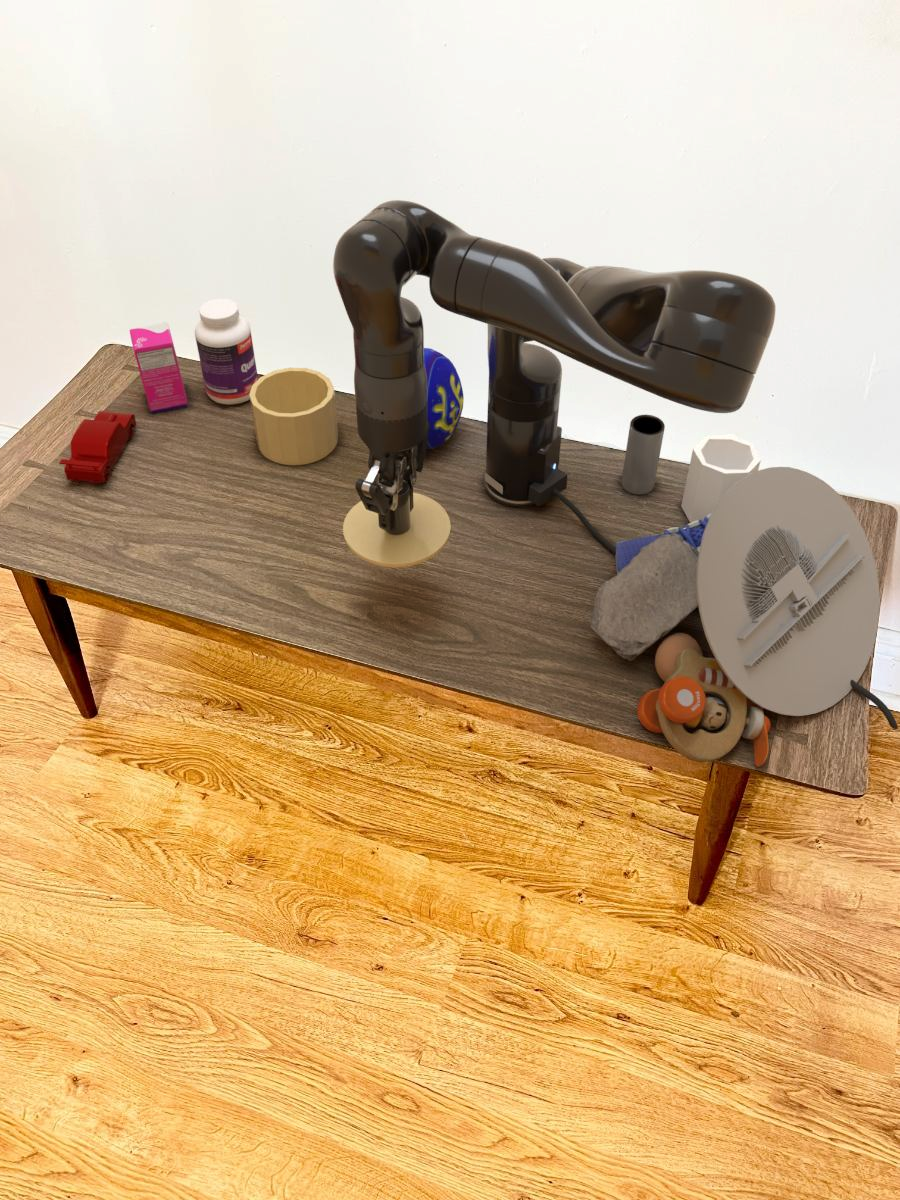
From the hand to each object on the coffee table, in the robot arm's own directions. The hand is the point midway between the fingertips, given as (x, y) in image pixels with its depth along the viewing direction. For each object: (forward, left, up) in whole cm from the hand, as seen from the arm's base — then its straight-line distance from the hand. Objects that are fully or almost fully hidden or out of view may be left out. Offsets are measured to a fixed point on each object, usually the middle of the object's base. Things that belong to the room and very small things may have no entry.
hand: (396, 518), depth 124 cm
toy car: (+51, -7, -13) cm, 53 cm away
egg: (-36, +1, -10) cm, 37 cm away
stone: (-25, -9, -6) cm, 27 cm away
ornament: (+11, -30, -13) cm, 34 cm away
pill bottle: (+43, -28, -13) cm, 53 cm away
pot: (+28, -22, -13) cm, 38 cm away
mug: (-31, -34, -13) cm, 48 cm away
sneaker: (-35, -19, -13) cm, 42 cm away
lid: (0, 0, -2) cm, 2 cm away
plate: (-44, -11, -3) cm, 45 cm away
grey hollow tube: (-20, -33, -13) cm, 41 cm away
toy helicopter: (-35, 0, -6) cm, 35 cm away
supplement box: (+51, -22, -13) cm, 57 cm away
